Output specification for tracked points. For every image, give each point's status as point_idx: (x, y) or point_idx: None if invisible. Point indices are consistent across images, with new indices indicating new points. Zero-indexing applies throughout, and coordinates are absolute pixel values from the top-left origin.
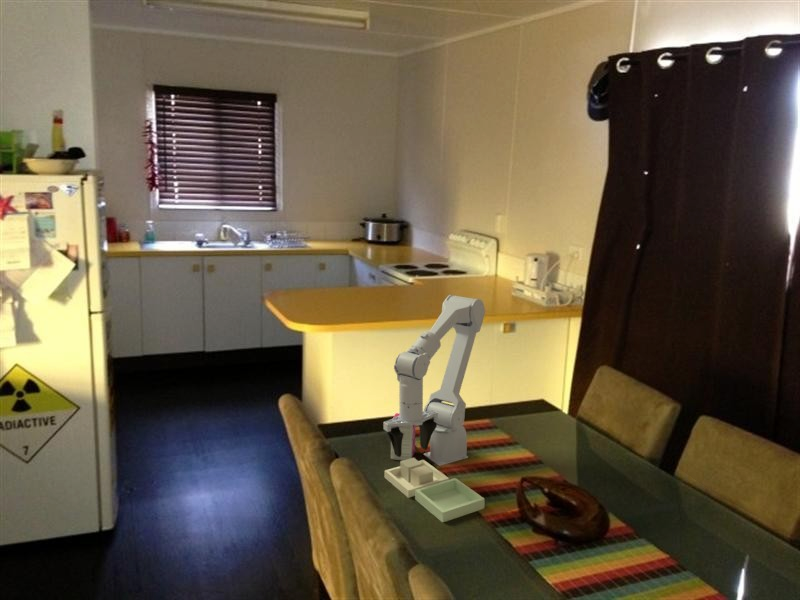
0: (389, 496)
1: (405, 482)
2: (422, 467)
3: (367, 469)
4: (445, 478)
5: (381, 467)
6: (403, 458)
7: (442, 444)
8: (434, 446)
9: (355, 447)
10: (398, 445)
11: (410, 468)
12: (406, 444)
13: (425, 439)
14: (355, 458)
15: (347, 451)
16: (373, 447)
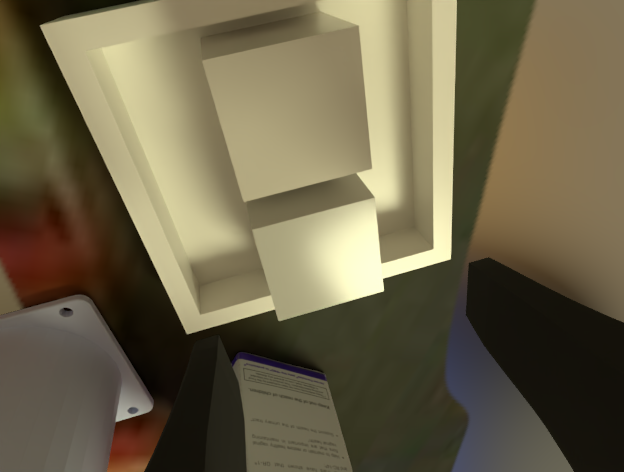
0: (493, 45)
1: None
2: (269, 174)
3: (445, 324)
4: (77, 33)
5: (384, 331)
6: (275, 374)
7: (15, 437)
8: (86, 429)
9: (403, 459)
10: (605, 322)
11: (354, 196)
12: (273, 446)
13: (217, 434)
14: (441, 399)
15: (441, 439)
16: None
